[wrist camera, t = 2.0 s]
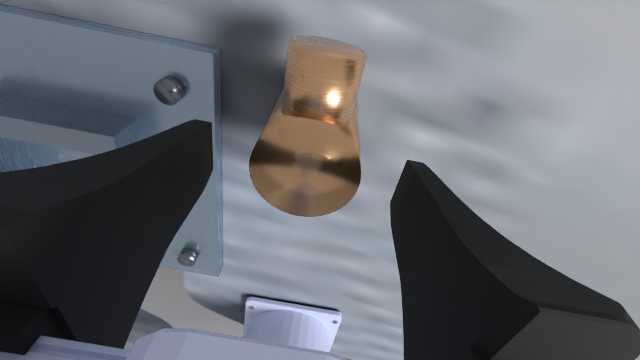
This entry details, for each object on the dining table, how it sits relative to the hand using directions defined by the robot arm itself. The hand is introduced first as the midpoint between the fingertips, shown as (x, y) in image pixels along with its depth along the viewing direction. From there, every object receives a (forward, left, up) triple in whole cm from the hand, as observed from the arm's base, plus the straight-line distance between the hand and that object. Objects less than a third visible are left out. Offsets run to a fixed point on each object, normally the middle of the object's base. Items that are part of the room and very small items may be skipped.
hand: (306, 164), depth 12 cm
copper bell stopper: (0, 0, -5) cm, 5 cm away
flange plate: (-6, +13, -5) cm, 15 cm away
